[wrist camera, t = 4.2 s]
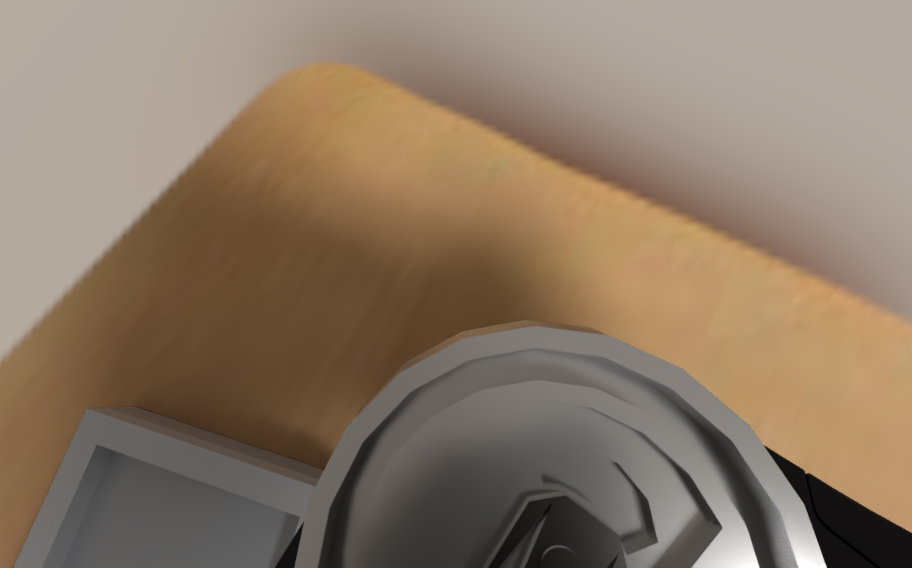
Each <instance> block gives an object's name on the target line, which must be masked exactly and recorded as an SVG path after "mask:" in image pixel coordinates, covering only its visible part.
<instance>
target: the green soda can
mask: <svg viewBox="0 0 912 568" xmlns="http://www.w3.org/2000/svg"><path fill="white" fill-rule="evenodd" d="M294 568H827V567H826V564H825V561H824V559H823V556H822V553H821V550H820V547H819V544H818V542H817V539H816V536H815V533H814V530H813V528H812V525H811V522H810V519H809V516H808V513H807V511H806V508H805V505H804V503H803V502H802V500H801V499H800V497H799V496H798V495H797V493H796V492H795V490H794V489H793V487H792V486H791V484H790V483H789V482H788V480H787V479H786V477H785V476H784V474H783V473H782V471H781V470H780V469H779V467H778V466H777V464H776V463H775V461H774V460H773V458H772V457H771V456H770V454H769V453H768V451H767V450H766V448H765V447H764V445H763V444H762V443H761V441H760V440H759V438H758V437H757V435H756V434H755V432H754V431H753V430H752V428H751V427H750V425H749V424H747V423H746V422H745V421H744V420H743V419H741V418H740V417H739V416H738V415H737V414H736V413H734V412H733V411H732V410H731V409H730V408H728V407H727V406H726V405H725V404H724V403H722V402H721V401H720V400H719V399H718V398H717V397H715V396H714V395H713V394H712V393H711V392H709V391H708V390H707V389H706V388H705V387H703V386H702V385H701V384H700V383H699V382H698V381H696V380H695V379H694V378H693V377H692V376H690V375H689V374H688V373H687V372H686V371H685V370H683V369H682V368H680V367H678V366H675V365H673V364H671V363H669V362H666V361H664V360H662V359H660V358H658V357H655V356H653V355H651V354H649V353H646V352H644V351H642V350H640V349H638V348H635V347H633V346H631V345H629V344H627V343H624V342H622V341H620V340H618V339H615V338H613V337H611V336H609V335H605V334H603V333H601V332H599V331H597V330H594V329H592V328H587V327H579V326H571V325H563V324H555V323H548V322H540V321H532V320H521V321H516V322H510V323H505V324H499V325H494V326H488V327H483V328H477V329H472V330H466V331H462V332H460V333H458V334H456V335H455V336H453V337H451V338H449V339H447V340H445V341H443V342H442V343H440V344H438V345H436V346H434V347H432V348H430V349H429V350H427V351H425V352H423V353H421V354H419V355H417V356H415V357H414V358H412V359H410V360H408V361H406V362H405V363H404V364H403V365H402V366H401V367H400V368H399V369H398V370H397V371H396V372H395V373H394V375H393V376H392V377H391V378H390V379H389V380H388V381H387V382H386V383H385V384H384V385H383V386H382V387H381V388H380V389H379V390H378V391H377V392H376V393H375V394H374V395H373V396H372V397H371V398H370V399H369V400H368V401H367V402H366V403H365V404H364V405H363V406H362V407H361V408H360V410H359V412H358V414H357V415H356V417H355V419H354V420H353V421H352V422H351V423H350V424H349V425H348V426H347V427H346V429H345V431H344V433H343V435H342V437H341V438H340V440H339V442H338V444H337V446H336V448H335V450H334V452H333V454H332V456H331V458H330V460H329V462H328V463H327V465H326V467H325V469H324V471H323V473H322V475H321V477H320V479H319V481H318V483H317V485H316V486H315V488H314V490H313V492H312V494H311V496H310V498H309V501H308V505H307V510H306V515H305V520H304V524H303V529H302V534H301V539H300V543H299V548H298V553H297V558H296V562H295V567H294Z"/></svg>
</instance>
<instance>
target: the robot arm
mask: <svg viewBox="0 0 912 568" xmlns="http://www.w3.org/2000/svg"><path fill="white" fill-rule="evenodd" d="M764 447H765V448H766V450H767V451H768V453H769V454H770V456H771V457H772V458H773V460H774V461H775V463H776V464H777V466H778V467H779V469H780V470H781V471H782V473H783V474H784V476H785V477H786V479H787V480H788V482H789V483H790V484H791V486H792V487H793V489H794V490H795V492H796V493H797V495H798V496H799V497H800V499H801V500H802V502H803V503H804V505H805V508H806V511H807V513H808V516H809V519H810V522H811V525H812V528H813V530H814V533H815V536H816V539H817V542H818V544H819V547H820V550H821V553H822V556H823V559H824V561H825V564H826V567H827V568H912V533H911V532H909V531H907V530H905V529H904V528H902V527H900V526H898V525H896V524H895V523H893V522H891V521H889V520H887V519H886V518H884V517H882V516H880V515H878V514H877V513H875V512H873V511H871V510H869V509H868V508H866V507H864V506H863V505H861V504H859V503H858V502H856V501H854V500H853V499H851V498H849V497H848V496H846V495H844V494H843V493H841V492H839V491H837V490H836V489H834V488H832V487H831V486H829V485H828V484H826V483H824V482H823V481H821V480H820V479H818V478H816V477H815V476H813V475H811V474H810V473H807V474H805V471H804V470H803V469H801V468H800V467H798V466H797V465H795V464H793V463H792V462H790V461H789V460H787V459H785V458H784V457H782V456H780V455H779V454H777V453H776V452H774V451H772V450H771V449H769V448H768V447H766V446H764ZM303 524H304V521H303V523H302V525H301V526H300V528H299V529H298V531H297V533H296V534H295V536H294V537H293V539H292V540H291V542H290V544H289V545H288V547H287V548H286V550H285V552H284V553H283V555H282V556H281V558H280V559H279V561H278V563H277V564H276V566H275V567H274V568H294V567H295V562H296V558H297V553H298V548H299V543H300V539H301V534H302V529H303Z"/></svg>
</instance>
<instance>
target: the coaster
mask: <svg viewBox="0 0 912 568" xmlns="http://www.w3.org/2000/svg"><path fill="white" fill-rule="evenodd" d="M323 471H324V470H323V469H320V468H317V467H314V466H311V465H308V464H305V463H302V462H299V461H296V460H293V459H290V458H287V457H284V456H281V455H278V454H275V453H272V452H269V451H266V450H263V449H260V448H257V447H254V446H251V445H248V444H245V443H242V442H239V441H236V440H233V439H230V438H227V437H224V436H221V435H218V434H215V433H212V432H209V431H206V430H203V429H200V428H197V427H194V426H191V425H188V424H185V423H182V422H179V421H176V420H173V419H170V418H167V417H164V416H161V415H158V414H155V413H152V412H149V411H146V410H143V409H140V408H137V407H134V406H123V407H102V408H86V410H85V413H84V415H83V417H82V419H81V421H80V423H79V426H78V428H77V430H76V432H75V434H74V437H73V439H72V441H71V443H70V445H69V447H68V450H67V452H66V454H65V456H64V458H63V460H62V463H61V465H60V467H59V469H58V471H57V474H56V476H55V478H54V480H53V482H52V484H51V487H50V489H49V491H48V493H47V495H46V498H45V500H44V502H43V504H42V506H41V508H40V511H39V513H38V515H37V517H36V519H35V522H34V524H33V526H32V528H31V530H30V532H29V535H28V537H27V539H26V541H25V543H24V546H23V548H22V550H21V552H20V554H19V556H18V559H17V561H16V563H15V565H14V567H13V568H274V567H275V566H276V564H277V563H278V561H279V559H280V558H281V556H282V555H283V553H284V552H285V550H286V548H287V547H288V545H289V544H290V542H291V540H292V539H293V537H294V536H295V534H296V533H297V531H298V529H299V528H300V526H301V525H302V523H303V521H304V520H305V515H306V510H307V505H308V501H309V498H310V496H311V494H312V492H313V490H314V488H315V486H316V485H317V483H318V481H319V479H320V477H321V475H322V473H323Z"/></svg>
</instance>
